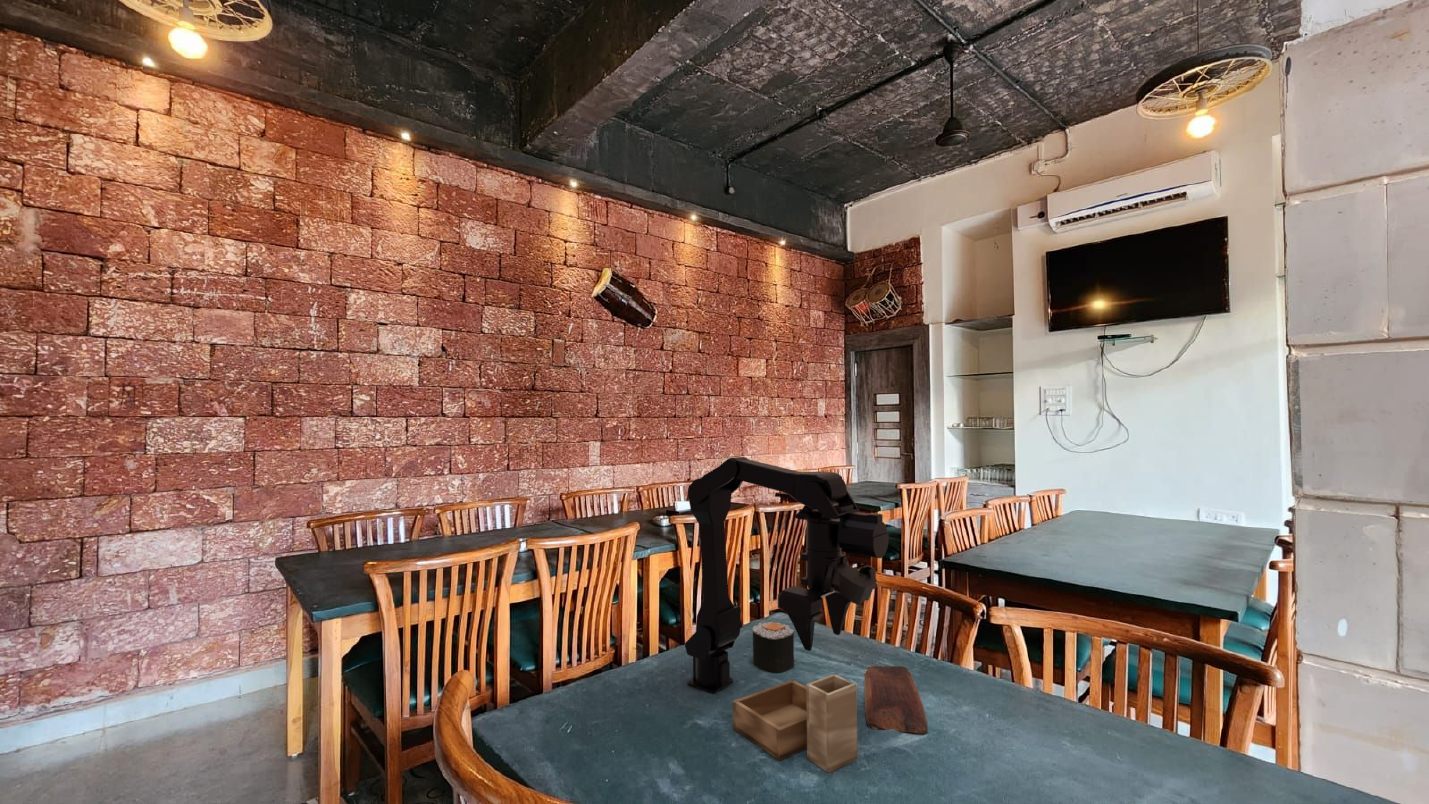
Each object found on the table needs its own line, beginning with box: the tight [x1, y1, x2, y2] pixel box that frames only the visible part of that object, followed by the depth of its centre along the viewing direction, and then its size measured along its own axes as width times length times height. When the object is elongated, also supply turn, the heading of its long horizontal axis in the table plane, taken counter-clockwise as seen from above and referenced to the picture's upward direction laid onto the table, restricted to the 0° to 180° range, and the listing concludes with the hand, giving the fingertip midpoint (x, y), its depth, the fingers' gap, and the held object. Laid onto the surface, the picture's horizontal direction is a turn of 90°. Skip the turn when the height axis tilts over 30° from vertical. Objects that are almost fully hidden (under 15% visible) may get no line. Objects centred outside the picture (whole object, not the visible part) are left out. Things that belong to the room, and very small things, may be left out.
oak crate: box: [732, 679, 807, 762], centre depth 96 cm, size 11×13×4 cm
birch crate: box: [805, 674, 858, 774], centre depth 88 cm, size 4×6×11 cm
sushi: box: [752, 621, 795, 674], centre depth 123 cm, size 8×8×8 cm
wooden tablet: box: [863, 665, 928, 736], centre depth 108 cm, size 26×2×10 cm
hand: (822, 642), depth 98 cm, fingers open, 9 cm apart
